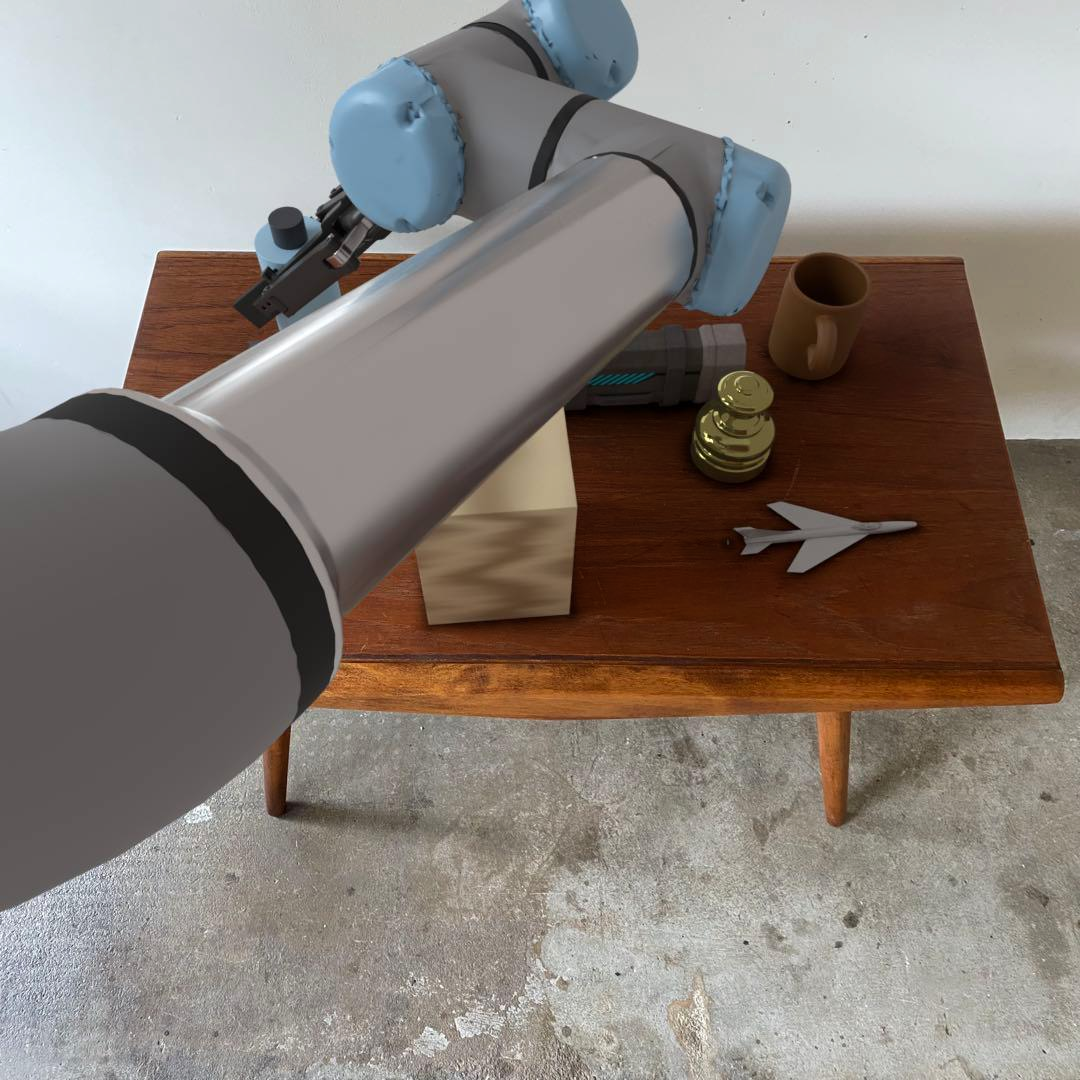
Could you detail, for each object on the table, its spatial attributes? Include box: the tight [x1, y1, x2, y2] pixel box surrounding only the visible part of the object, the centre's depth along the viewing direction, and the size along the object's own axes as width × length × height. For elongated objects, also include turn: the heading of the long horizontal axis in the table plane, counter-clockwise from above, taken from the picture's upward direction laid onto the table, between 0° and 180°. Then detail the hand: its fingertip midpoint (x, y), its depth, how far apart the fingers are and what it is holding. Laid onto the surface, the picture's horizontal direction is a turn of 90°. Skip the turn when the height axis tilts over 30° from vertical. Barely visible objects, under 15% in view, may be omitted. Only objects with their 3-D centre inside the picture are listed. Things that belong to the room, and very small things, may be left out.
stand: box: [414, 406, 578, 626], centre depth 78 cm, size 12×12×16 cm
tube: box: [564, 323, 747, 412], centre depth 93 cm, size 11×7×30 cm
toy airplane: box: [726, 501, 918, 573], centre depth 86 cm, size 8×21×2 cm, turn 97°
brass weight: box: [689, 370, 777, 484], centre depth 88 cm, size 7×7×10 cm
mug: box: [768, 251, 874, 381], centre depth 94 cm, size 13×8×10 cm, turn 170°
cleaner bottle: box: [253, 206, 342, 332], centre depth 77 cm, size 6×6×11 cm
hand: (265, 288), depth 79 cm, fingers closed on cleaner bottle, 6 cm apart
